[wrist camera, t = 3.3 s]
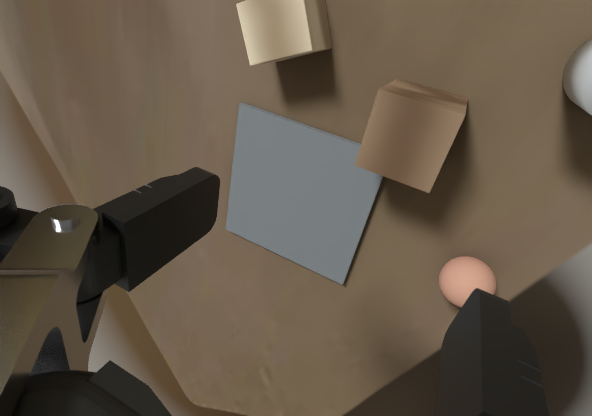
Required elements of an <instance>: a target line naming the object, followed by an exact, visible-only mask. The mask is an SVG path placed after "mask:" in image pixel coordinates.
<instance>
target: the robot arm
mask: <svg viewBox="0 0 592 416" xmlns="http://www.w3.org/2000/svg"><path fill="white" fill-rule="evenodd" d="M219 188H220V179H219V177H218V176H217V175H215V174H213V173H210V172H208V171H206V170H203V169H201V168H199V167H194V168H192V169H190V170H188V171H186V172H184V173H181V174H179V175H174V176H168V177H163V178H159V179H157V180H155V181H153V182H151V183H149V184H147V186H145V185H144V186H142V187H140V188H138V189H136V191H131V192H129V193H127V194H125V195H123V196H120V197H118V198H116V199H114V200H112V201H109V202H107V203H105V204H103V205H101V206H99V207H96V208H94V209H92V208H90V207H87V206H84V205H78V204H65V205H58V206H53V207H50V208H47V209H45V210H43V211H41V212H34V211H30V210H26V209H21V208H17V206H16V202H15V198H14V195H13V192H12V191H11V190H9V189H7V188H4V187H1V186H0V416H172V415H171V414H170V413H169V412H168V410H167V409H166V408H165V406H164V405H163V404H162V402H161V401H160V400H159V399H158V397H157V396H156V395H155V393H154V392H153V391H152V390H151V388H150V387H149V386H148V385H146V384H145V383H143V382H142V381H140V380H139V379H137V378H136V377H134V376H133V375H131V374H130V373H128V372H127V371H125V370H124V369H122V368H121V367H119V366H118V365H116V364H115V363H113V362H112V361H109V362H108V363H107V364H105V365H104V366H103V367H102V368H101V369H100V370H99V371H97V372H96V373H95V372H88V360H89V354H90V350H91V347H92V344H93V340H94V337H95V334H96V331H97V327H98V324H99V321H100V318H101V315H102V311H103V308H104V305H105V301H106V298H107V288H109V287H110V286H111V285H113V284H116V285H118V286H120V287H121V288H123V289H125V290H126V291H128V292H130V291H131V290H132V289H134V288H135V287H136V286H138V285H139V284H140V283H142V282H143V281H144V280H146V279H147V278H148V277H150V276H151V275H152V274H154V273H155V272H156V271H158V270H159V269H160V268H162V267H163V266H164V265H166V264H167V263H168V262H170V261H171V260H172V259H174V258H175V257H176V256H178V255H179V254H180V253H182V252H183V251H184V250H186V249H187V248H188V247H190V246H191V245H192V244H194V243H195V242H196V241H198V240H199V239H200V238H202V237H203V236H204V235H206V234H207V233H208V232H209V231H210V230H211V229H212V227H213V225H214V223H215V221H216V217H217V208H218V198H219ZM539 369H540V368H539V363H538V358H537V353H536V349H535V347H534V346H533V344H532V342H531V341H530V339H529V338H528V336H527V334H526V333H525V331H524V330H523V329H521V328H519V327H517V326H514V325H512V319H511V312H510V305H509V302H508V301H507V300H504V299H502V298H500V297H497V296H495V295H493V294H490V293H488V292H486V291H483V290H481V289H479V288H476V289H475V290H473V292H472V293H471V294H470V296H469V297H468V299H467V300H466V302H465V303H464V305H463V306H462V308H461V309H460V311H459V312H458V314H457V315H456V317H455V318H454V320H453V321H452V323H451V325H450V326H449V328H448V330H447V332H446V334H445V337H444V340H443V343H442V349H441V359H440V368H439V378H438V389H437V398H436V408H435V416H549V413H548V408H547V403H546V398H545V393H544V389H543V388H542V385H543V384H542V378H541V373H540V372H539Z"/></svg>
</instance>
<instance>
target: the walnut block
mask: <svg viewBox="0 0 592 416" xmlns="http://www.w3.org/2000/svg"><path fill="white" fill-rule="evenodd" d="M467 102H468V98H465V97H461V96H458V95H454V94H451V93H447V92H444V91H440V90H437V89H433V88H430V87H426V86H423V85H419V84H416V83H412V82H409V81H405V80H402V79H398V78H397V79H395V80H394V81H392V82H390V83H388V84H387V85H385V86H383V87H381V88H379V89H378V92H377V95H376V98H375V102H374V105H373V108H372V111H371V114H370V118H369V121H368V124H367V127H366V130H365V133H364V137H363V140H362V143H361V146H360V149H359V152H358V156H357V159H356V162H355V165H354V166H357V167H360V168H363V169H365V170H368V171H371V172H373V173H376V174H379V175H381V176H384V177H387V178H390V179H392V180H395V181H398V182H400V183H403V184H406V185H408V186H411V187H414V188H417V189H419V190H422V191H425V192H427V193H430V191H431V188H432V186H433V184H434V182H435V180H436V178H437V176H438V173H439V171H440V169H441V167H442V165H443V163H444V160H445V158H446V156H447V154H448V152H449V150H450V147H451V145H452V143H453V141H454V139H455V137H456V135H457V132H458V130H459V128H460V126H461V124H462V122H463V119H464V117H465V115H466V108H467Z"/></svg>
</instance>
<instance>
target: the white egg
mask: <svg viewBox="0 0 592 416" xmlns="http://www.w3.org/2000/svg"><path fill="white" fill-rule="evenodd" d="M562 83H563V88H564V91H565V93H566V95H567V96H568V98H569V99H570V100H571V101H572V102H574V103H575V104H576V105H578V106H579V107H581V108H582V109H583V110H585V111H586V112H588V113H589V114H590V115H592V38H591V39H589V40H588V41H586V42H585V43H584V44H583V45H581V46H580V47H579V48H578V49H577V50H576V51H575V52H574V53H573V55H572V56H571V57H570V59H569V60H568V62H567V64H566V66H565V69H564V72H563V78H562Z"/></svg>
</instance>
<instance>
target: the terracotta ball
mask: <svg viewBox="0 0 592 416" xmlns="http://www.w3.org/2000/svg"><path fill="white" fill-rule="evenodd" d="M439 285H440V288H441V291H442V293H443V294H444V296H445V297H446V298H447V299H448V300H449V301H450V302H451V303H453V304H454V305H456V306H459V307H462V306H463V305H464V303H465V302H466V300H467V299H468V297H469V296H470V294H471V293H472V292H473V290H475V289H476V288H479V289H481V290H483V291H486V292H488V293H490V294H493V295H494V293H495V290H496V280H495V276H494V274H493V272H492V270H491V269H490V268H489V267H488V266H487V265H486V264H485V263H484V262H482V261H481V260H479V259H477V258H474V257H468V256H461V257H457V258H454V259H452V260H450V261H448V262H447V263H446V264H445V265H444V266H443V268H442V270H441V272H440V275H439Z"/></svg>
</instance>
